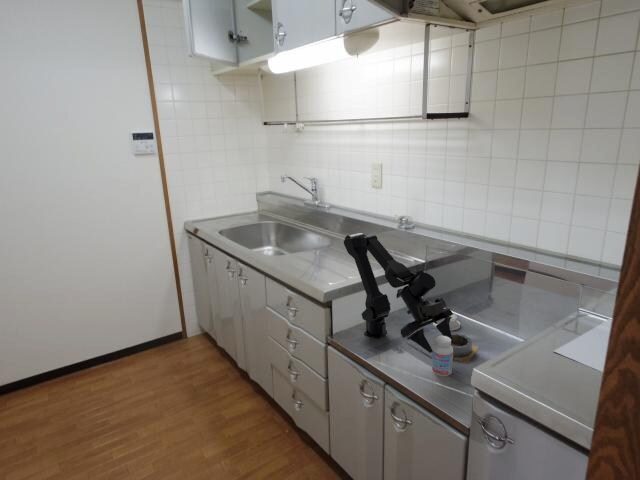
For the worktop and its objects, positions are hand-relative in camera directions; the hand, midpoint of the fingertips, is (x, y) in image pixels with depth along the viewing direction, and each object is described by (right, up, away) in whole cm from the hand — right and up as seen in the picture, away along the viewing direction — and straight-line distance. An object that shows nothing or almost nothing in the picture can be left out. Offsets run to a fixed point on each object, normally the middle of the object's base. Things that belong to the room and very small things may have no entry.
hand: (441, 347), depth 123 cm
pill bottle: (+1, -8, +2) cm, 8 cm away
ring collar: (+9, -4, +13) cm, 16 cm away
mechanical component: (+11, 0, +31) cm, 33 cm away
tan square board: (+9, -5, +13) cm, 16 cm away
